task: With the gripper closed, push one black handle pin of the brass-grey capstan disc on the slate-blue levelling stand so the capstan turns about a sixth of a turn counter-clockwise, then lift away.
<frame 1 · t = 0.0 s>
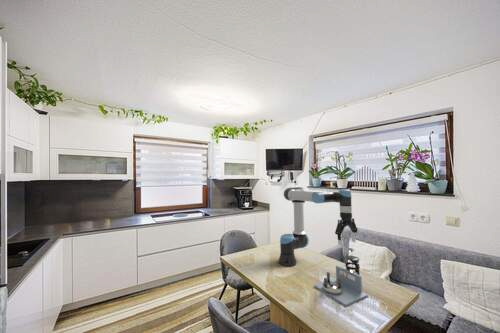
hand: (347, 243, 136), 28 cm above the table, fingers open, 13 cm apart
french press: (353, 282, 138), on the table
capstan: (332, 283, 128), point 5 cm above the table, hinge at 0.0°
stand: (339, 291, 128), on the table
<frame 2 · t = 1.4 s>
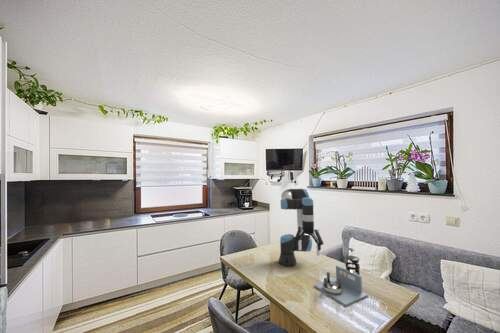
hand: (308, 252, 134), 23 cm above the table, fingers open, 13 cm apart
nothing on the table moved.
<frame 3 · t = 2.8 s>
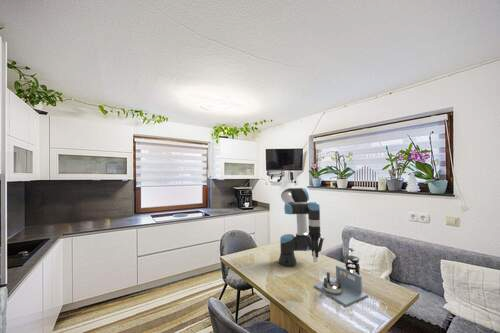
hand: (315, 261, 132), 17 cm above the table, fingers closed
nothing on the table moved.
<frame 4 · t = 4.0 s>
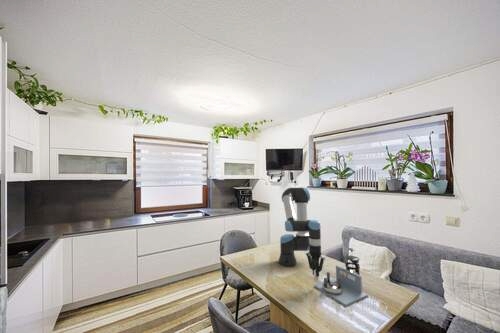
hand: (316, 280, 131), 5 cm above the table, fingers closed
nothing on the table moved.
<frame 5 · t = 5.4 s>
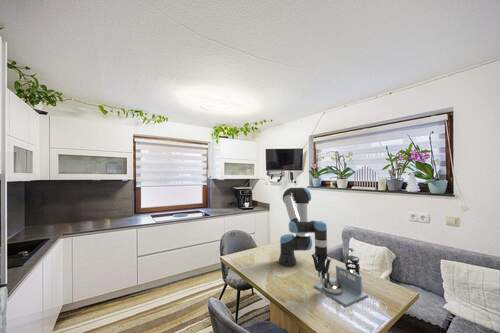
hand: (321, 283, 129), 5 cm above the table, fingers closed
capstan: (332, 283, 128), point 5 cm above the table, hinge at 2.4°, touching gripper
everything else where it was.
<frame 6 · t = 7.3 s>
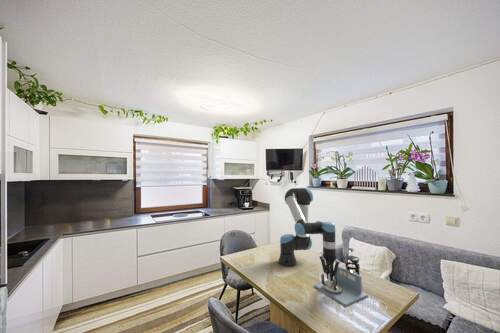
hand: (330, 285, 126), 5 cm above the table, fingers closed
capstan: (332, 282, 129), point 5 cm above the table, hinge at 65.9°, touching gripper
everything else where it was.
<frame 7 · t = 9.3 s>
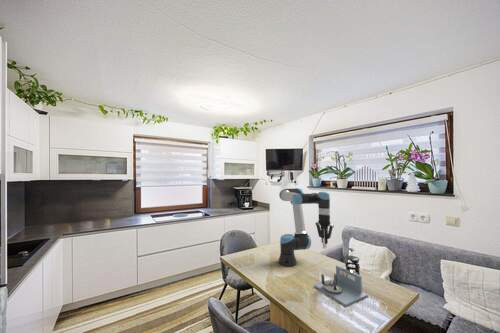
hand: (324, 247, 139), 24 cm above the table, fingers closed
capstan: (332, 282, 129), point 5 cm above the table, hinge at 66.9°
everything else where it was.
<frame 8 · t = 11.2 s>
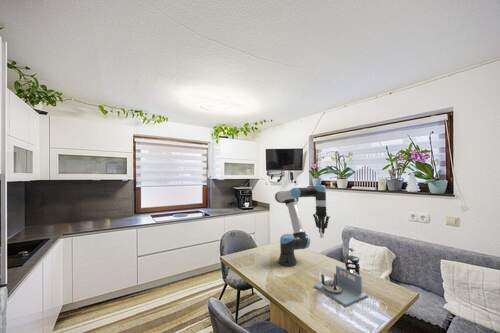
hand: (321, 237, 149), 28 cm above the table, fingers closed
nothing on the table moved.
at the end: capstan at +67° (first picture: +0°); capstan touching nothing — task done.
